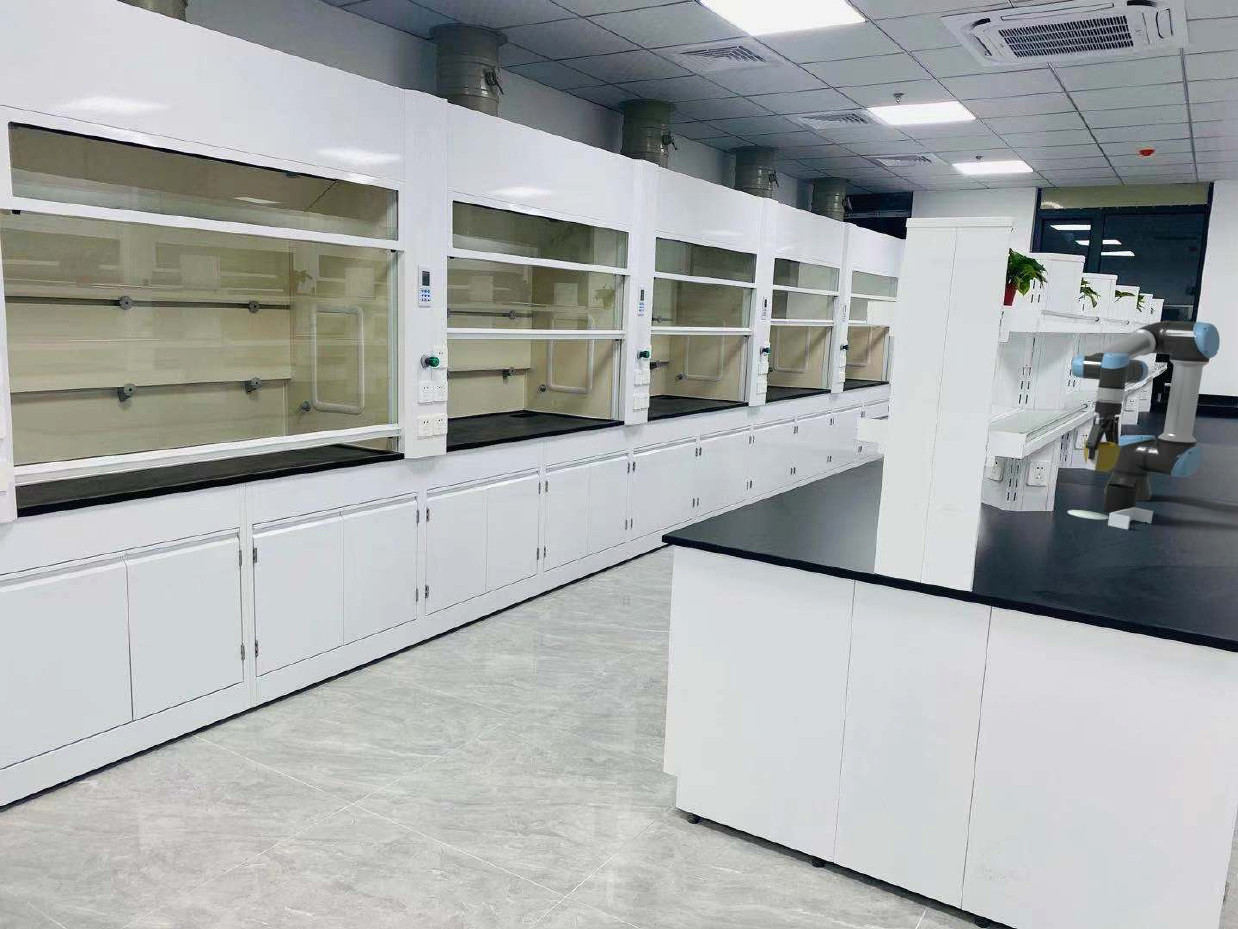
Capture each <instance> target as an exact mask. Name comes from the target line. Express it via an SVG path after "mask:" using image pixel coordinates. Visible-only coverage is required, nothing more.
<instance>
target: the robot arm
mask: <svg viewBox="0 0 1238 929" xmlns="http://www.w3.org/2000/svg"><path fill="white" fill-rule="evenodd" d="M1220 341H1221V339H1220V333H1219V331H1218V329H1217V327H1216V326H1215V325H1214V324H1212V323H1211V322H1210V323H1209V322H1201V321H1181V320H1179V321H1176V320H1163V321H1157V322H1153V323H1150V324H1148V325H1147V324H1146V325H1145V326H1142V327H1139V328H1137V329H1135V330H1133V331H1131V333H1129V335H1128V336H1126V338H1123V339H1122V340H1119V341H1118V342H1115V343H1114V344H1111V345H1110V346H1107V347H1106V348H1103V349H1101V350H1100V351H1097V352H1096V353H1094V354H1091V355H1077V356H1075V357H1074V358H1073V360H1072V362H1071V366H1070V367H1071V374H1072V375H1073V377H1075V378H1081V379H1083V380H1084V379H1087V380H1096V381H1097V380H1098V386H1097V389H1096V391H1095V392H1096V400H1097V401H1095V404H1094V413H1096V414H1099V415H1098V417H1093V419H1092V421H1093V422H1092V424H1091V425H1092V426H1091V429H1090V431H1089V434H1088V438H1087V444H1086V448H1087V449H1089V451H1088V457H1087V464H1086V463H1085V469H1086V470H1090V471H1091V470H1092V471H1093V470H1096V464H1097V457H1098V451H1099V450H1097V448H1098V446H1099V444H1100V442H1101V441H1102V439H1103V437H1104V436H1105V442H1112V443H1115V444H1117V445H1119V446H1121V450H1120V453H1119V457H1118V460H1117V462H1116V464H1115V466H1114V467H1113V468H1112V474H1111V476H1110V477H1109V480H1108V482H1107V484H1123V485H1129V486H1134V487H1137V488H1138V489H1139V490H1138V496H1137V502H1138V501H1143V502H1146V501H1151V498H1152V490H1151V486H1150V480H1149V477H1150V473H1154V474H1159V475H1165V476H1170V477H1172V478H1185V479H1186V478H1189V477H1190V476H1192V475H1193V474H1194V473H1195V472H1196V470H1197V469H1198V467H1199V466H1200V463H1201V461H1202V455H1203V454H1202V453H1203V452H1202V449H1201V447H1200V446H1198V445H1196V444H1197V439H1196V438H1195V437H1194V435H1193V433H1194V432H1193V431H1194V424H1195V420H1196V413H1197V408H1198V401H1199V400H1198V399H1199V394H1200V388H1201V382H1202V376H1203V368H1204V367H1205V366H1206V365H1208V364H1209V363H1210V359H1211V358H1214V357H1215V356H1216V355H1217V354H1218V351H1219V349H1220V345H1221V344H1220ZM1150 354H1160V355H1161V354H1162V355H1169V362H1171V364H1172V365H1173V370H1172V375H1171V377H1172V378H1171V381H1170V383H1171V384H1170V389H1169V390H1170V391H1169V395H1168V396H1169V397H1168V402H1167V410H1166V416H1165V422H1164V429H1163V432H1162V433H1161V434H1160V435H1158V437H1157V438H1156V436H1155V435H1152V434H1150V435H1148V434H1146V435H1145V434H1144V435H1143V434H1133V435H1132V434H1129V435H1128V434H1124V435H1121V436H1120V437H1119V434H1120V433H1119V422H1120V416H1118V415H1121V413H1122V410H1123V408H1122V407H1123V404H1122V402H1123V401H1124V397H1125V389H1126V384H1136V383H1140V382H1143V381H1144V380H1145V379H1146V378H1147V377H1148V375H1149V367H1148V365H1147V363H1146V362H1145V361H1143V360H1141V359H1136V358H1139V357H1140V356H1141V357H1143V356H1148V355H1150ZM1107 484H1106V485H1105V488H1104V491H1103V493H1104V495H1105V492H1106V486H1107Z"/></svg>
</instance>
